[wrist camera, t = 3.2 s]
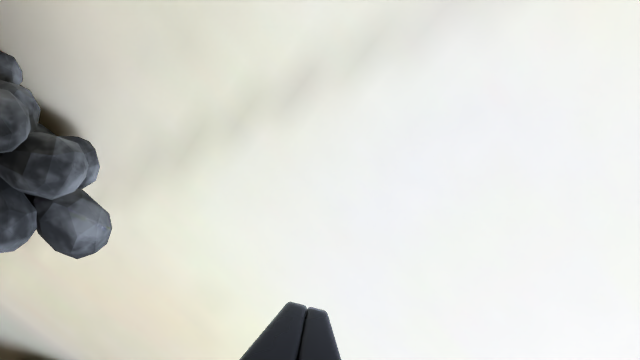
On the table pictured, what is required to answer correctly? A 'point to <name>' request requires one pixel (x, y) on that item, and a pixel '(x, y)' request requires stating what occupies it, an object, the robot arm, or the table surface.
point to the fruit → (44, 177)
